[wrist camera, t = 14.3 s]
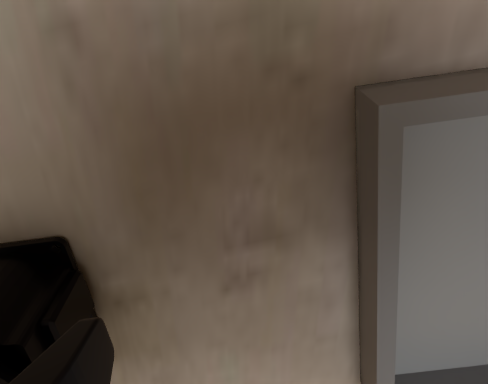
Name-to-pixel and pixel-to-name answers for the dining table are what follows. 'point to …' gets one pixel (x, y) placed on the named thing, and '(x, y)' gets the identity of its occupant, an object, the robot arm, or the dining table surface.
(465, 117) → the gray walled tray
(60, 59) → the dining table surface
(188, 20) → the dining table surface
